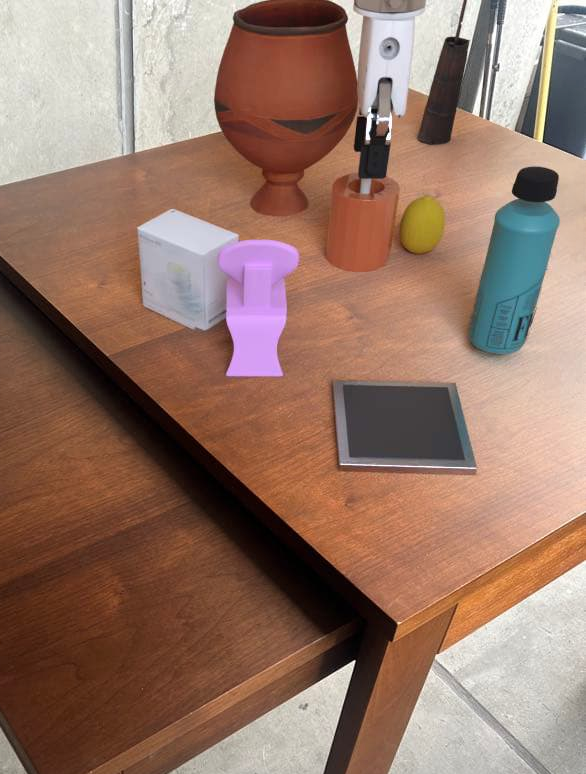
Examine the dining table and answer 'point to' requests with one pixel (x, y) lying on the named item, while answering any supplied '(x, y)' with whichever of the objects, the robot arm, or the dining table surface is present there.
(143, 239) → the cosmetics box
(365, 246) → the pen cup
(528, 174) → the beverage bottle
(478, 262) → the dining table surface
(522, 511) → the dining table surface
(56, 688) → the dining table surface
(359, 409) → the tablet
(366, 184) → the stylus
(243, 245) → the toy chair
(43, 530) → the dining table surface
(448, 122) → the butter churn
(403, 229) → the lemon
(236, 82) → the goblet
